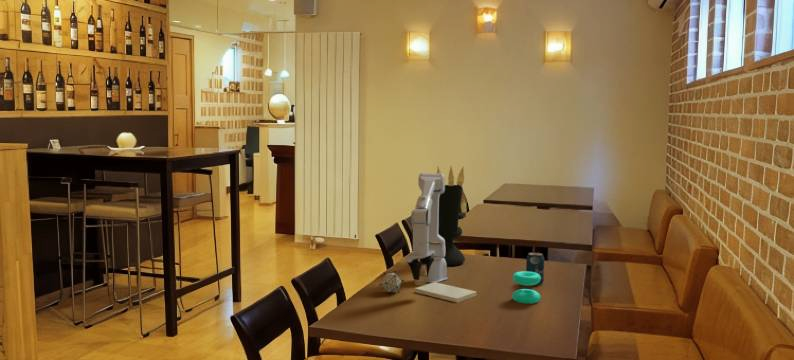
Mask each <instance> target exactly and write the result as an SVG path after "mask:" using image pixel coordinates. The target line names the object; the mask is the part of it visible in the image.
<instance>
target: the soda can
mask: <svg viewBox="0 0 794 360" xmlns="http://www.w3.org/2000/svg"><path fill="white" fill-rule="evenodd" d="M525 263H526V267H525V269H526V271H530V272H535V273H537V274H539V275H540V277H541V280H540V282H539V283H538V284H535V285H534V286H540V285H543V283H544V280H545V257H544V254H543V253H542V252H540V251H539V252H537V251H535V252H534V251H532V252H528V253H527V256H526V262H525Z"/></svg>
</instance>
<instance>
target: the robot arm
mask: <svg viewBox="0 0 794 360" xmlns="http://www.w3.org/2000/svg"><path fill="white" fill-rule="evenodd" d="M417 183H418V187H419V189H420V191H421V195H419V196H418V197H417V200H416V204H415V208H414V209H412V210H411V214H410V220H411V230H412V251H411V252H410V254H409V255H405V262H406V263H407V264H408V266H409V268H410V271H411V274H412V275H411V276H412V278H413V280H414V281H415V280H419V277H420V268H421V265H422V263H424V264H427V283H429V284H430V283H434V282H436V283H440V282H442V281H443V282H444V281H446V280H448V279H449V277H448V276H447V272H448V271H447V270H448V269H447V268H448V266H447V263H446V260H445V259H444V257H445V251H446V247H445V239H444V238H443V237H441V236H440V235H439V234H438V225H439V197H440V194H442V193H444V191H445V185H446V177H445V174H444V173H441V174H437V173H429V172H428V173H425V172H424V173H423V172H421V173H419V175H418V182H417Z"/></svg>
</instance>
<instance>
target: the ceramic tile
mask: <svg viewBox="0 0 794 360" xmlns="http://www.w3.org/2000/svg"><path fill="white" fill-rule="evenodd" d="M414 293H416V294H420V295H425V296H430V297H433V298H436V299H437V298H438V299H441V300H445V301H449V302H454V303H460V302H463V301H465V300H468V299H471V298H474V297H476V296H477V294H478V292H477V291H475V290H471V289H467V288H462V287H457V286H453V285H449V284H444V283H440V282H437V283H436V282H434V283H430V282H429V283H427V284H425V285H420V286H418V287H415V288H414Z"/></svg>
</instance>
